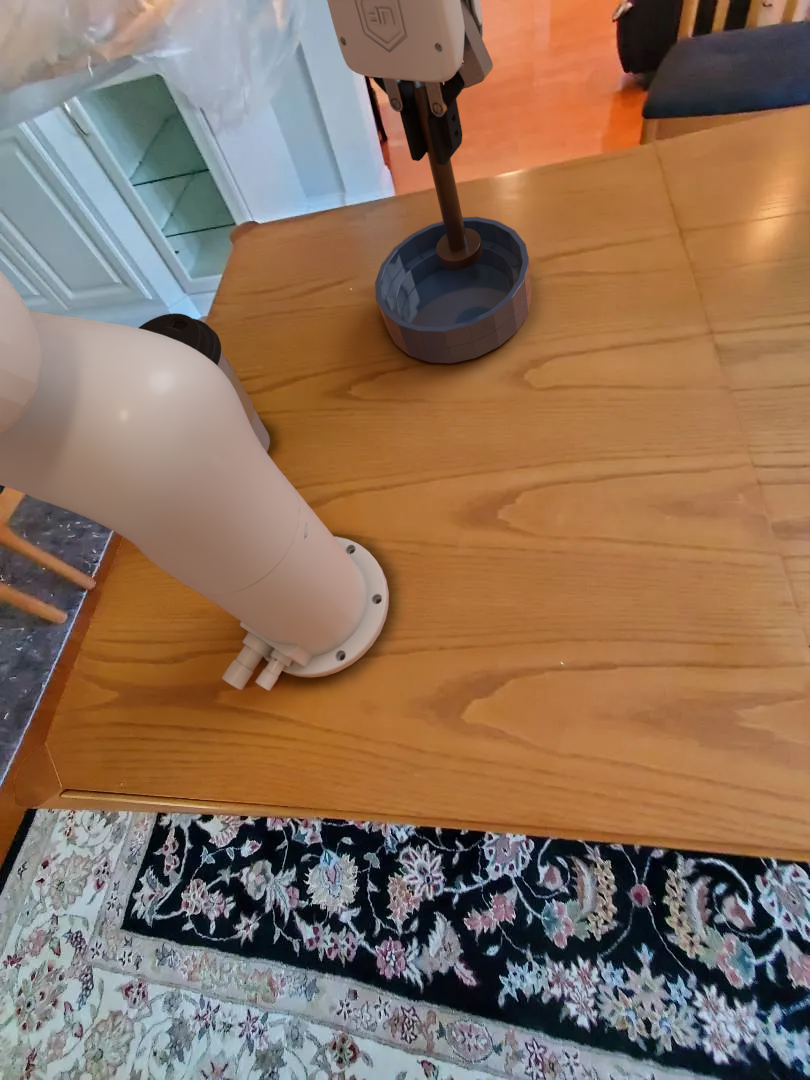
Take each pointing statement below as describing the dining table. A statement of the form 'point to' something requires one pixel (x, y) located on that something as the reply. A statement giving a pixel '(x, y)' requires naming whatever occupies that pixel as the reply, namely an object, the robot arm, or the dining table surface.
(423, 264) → the bowl
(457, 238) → the muddler
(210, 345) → the coffee cup
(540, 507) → the dining table surface
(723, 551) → the dining table surface
